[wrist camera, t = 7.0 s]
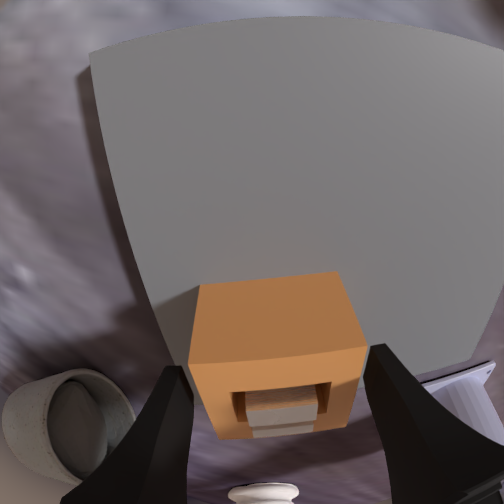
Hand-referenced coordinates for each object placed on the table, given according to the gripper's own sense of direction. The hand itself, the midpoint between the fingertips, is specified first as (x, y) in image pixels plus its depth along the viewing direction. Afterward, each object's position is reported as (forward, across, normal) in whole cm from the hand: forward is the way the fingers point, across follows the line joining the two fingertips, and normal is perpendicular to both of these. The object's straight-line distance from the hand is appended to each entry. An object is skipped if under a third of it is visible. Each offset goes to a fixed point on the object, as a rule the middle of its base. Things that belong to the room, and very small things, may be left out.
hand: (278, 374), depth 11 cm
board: (+4, -4, -3) cm, 6 cm away
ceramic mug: (+4, +13, +8) cm, 16 cm away
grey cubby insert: (+3, 0, 0) cm, 3 cm away
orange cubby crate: (+3, 0, 0) cm, 3 cm away
